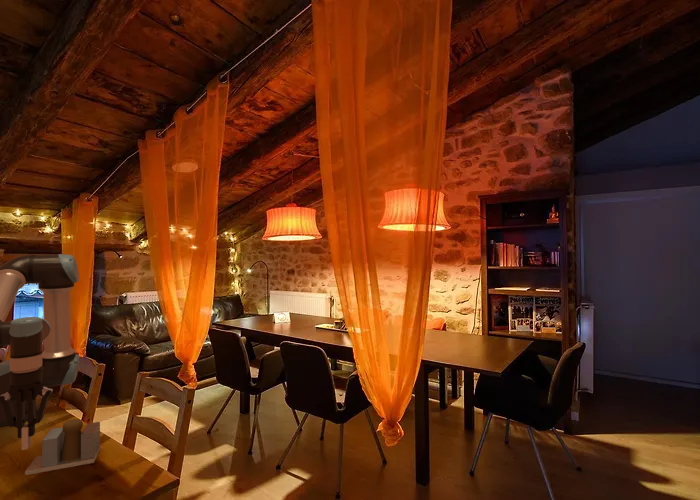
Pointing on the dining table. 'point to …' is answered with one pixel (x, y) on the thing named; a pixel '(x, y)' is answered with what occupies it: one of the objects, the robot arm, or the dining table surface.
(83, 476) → the dining table surface
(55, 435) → the block
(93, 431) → the vise
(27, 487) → the dining table surface
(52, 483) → the dining table surface
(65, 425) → the wooden pawn
